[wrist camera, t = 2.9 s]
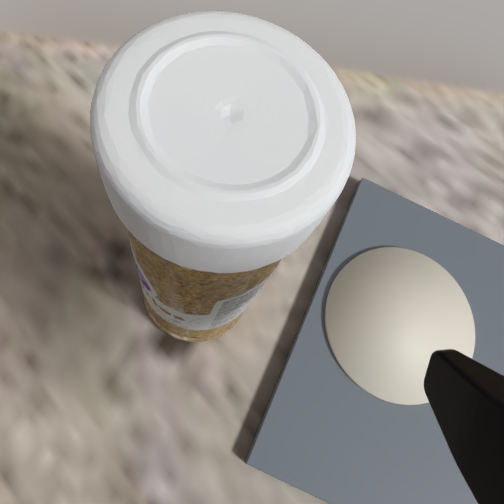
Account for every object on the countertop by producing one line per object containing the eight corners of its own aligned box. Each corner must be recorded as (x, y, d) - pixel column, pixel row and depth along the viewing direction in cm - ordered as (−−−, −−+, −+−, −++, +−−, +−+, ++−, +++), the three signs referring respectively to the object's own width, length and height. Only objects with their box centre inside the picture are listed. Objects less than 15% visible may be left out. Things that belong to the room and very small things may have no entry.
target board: (513, 590, 18) (528, 598, 18) (244, 462, 18) (247, 464, 17) (571, 285, 23) (584, 281, 22) (358, 183, 23) (364, 175, 22)
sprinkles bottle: (122, 279, 20) (26, 66, 7) (208, 224, 21) (255, -38, 8) (184, 367, 19) (198, 301, 6) (268, 303, 20) (418, 147, 8)
